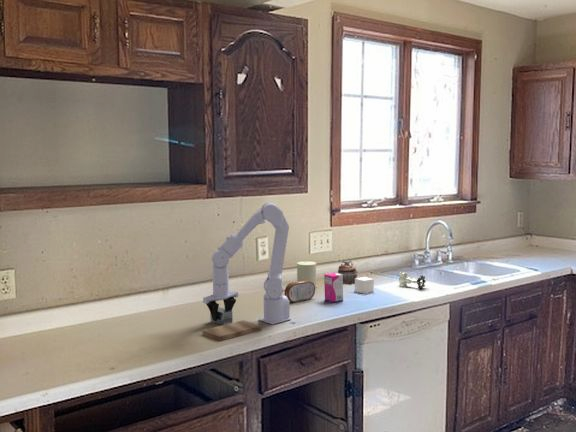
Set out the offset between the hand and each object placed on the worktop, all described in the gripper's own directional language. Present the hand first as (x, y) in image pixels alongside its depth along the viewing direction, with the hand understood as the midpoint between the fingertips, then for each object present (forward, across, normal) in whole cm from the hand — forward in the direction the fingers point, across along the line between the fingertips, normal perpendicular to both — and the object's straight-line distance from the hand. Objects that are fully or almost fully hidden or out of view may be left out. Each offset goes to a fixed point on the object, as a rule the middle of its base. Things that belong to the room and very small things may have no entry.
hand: (221, 319), depth 217 cm
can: (+2, -63, -20) cm, 66 cm away
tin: (+2, -44, -4) cm, 44 cm away
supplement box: (+2, -54, +6) cm, 54 cm away
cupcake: (+2, -86, -15) cm, 87 cm away
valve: (+2, -98, +13) cm, 99 cm away
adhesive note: (+2, -76, +4) cm, 76 cm away
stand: (+1, +4, +12) cm, 13 cm away
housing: (+2, 0, 0) cm, 2 cm away
